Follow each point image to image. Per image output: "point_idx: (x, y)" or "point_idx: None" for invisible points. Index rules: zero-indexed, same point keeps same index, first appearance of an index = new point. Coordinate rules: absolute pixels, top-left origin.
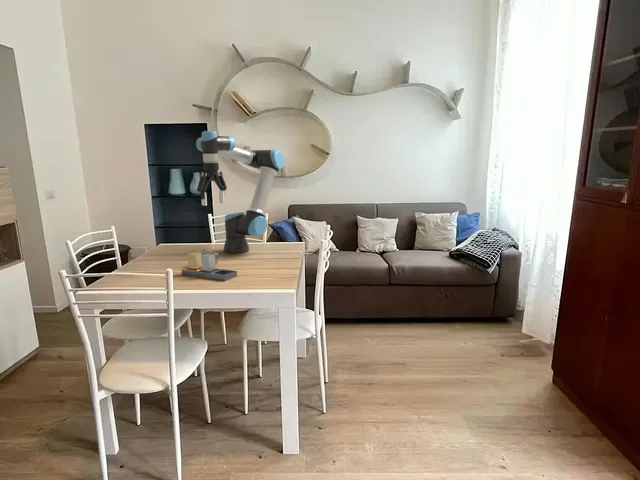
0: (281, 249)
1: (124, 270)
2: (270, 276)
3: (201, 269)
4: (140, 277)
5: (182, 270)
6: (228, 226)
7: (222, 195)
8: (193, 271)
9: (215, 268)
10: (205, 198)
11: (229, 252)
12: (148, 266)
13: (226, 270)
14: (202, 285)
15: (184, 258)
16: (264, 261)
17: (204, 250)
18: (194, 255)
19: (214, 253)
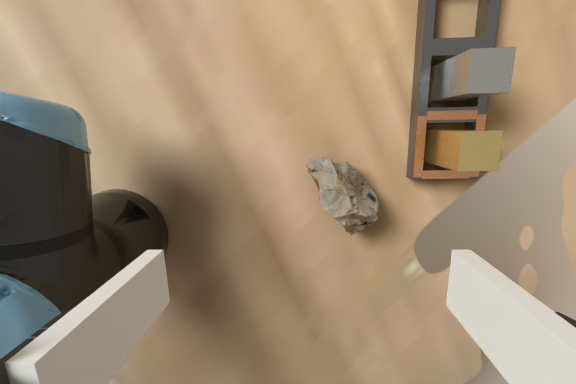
0: (7, 92)
1: (478, 363)
2: None
3: (457, 112)
4: (531, 267)
5: (477, 173)
6: (88, 288)
7: (106, 312)
8: (484, 123)
9: (442, 62)
10: (536, 299)
11: (165, 231)
12: (416, 338)
13: (434, 17)
14: (560, 15)
15: (290, 315)
16: (198, 28)
17: (351, 200)
18: (501, 131)
19: (332, 163)
